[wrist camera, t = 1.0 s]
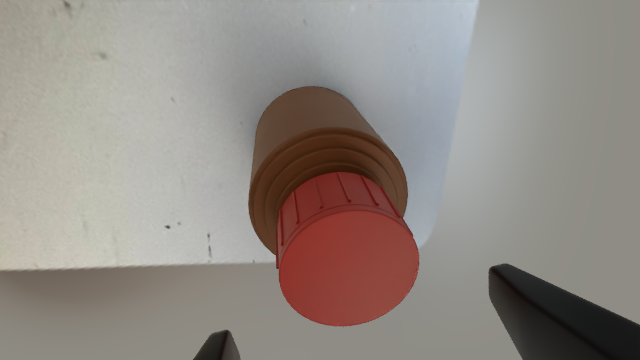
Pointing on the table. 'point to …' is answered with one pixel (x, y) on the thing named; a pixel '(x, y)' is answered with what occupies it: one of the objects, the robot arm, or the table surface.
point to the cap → (343, 250)
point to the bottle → (314, 153)
